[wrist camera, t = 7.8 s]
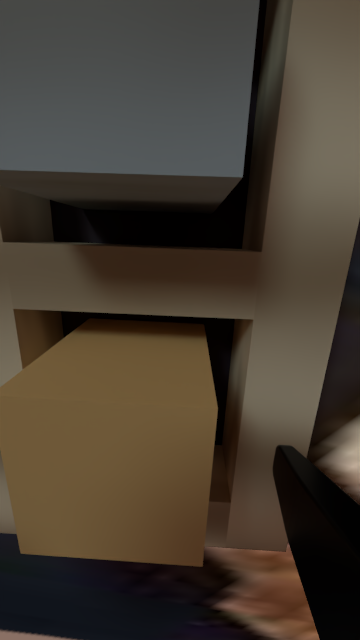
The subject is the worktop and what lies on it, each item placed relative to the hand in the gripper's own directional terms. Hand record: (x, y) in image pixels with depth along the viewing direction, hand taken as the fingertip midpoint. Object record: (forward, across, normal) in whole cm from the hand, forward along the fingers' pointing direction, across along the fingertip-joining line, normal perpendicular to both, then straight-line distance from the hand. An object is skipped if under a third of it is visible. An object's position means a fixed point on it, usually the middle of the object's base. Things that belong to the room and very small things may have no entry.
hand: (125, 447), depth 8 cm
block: (+5, 0, 0) cm, 5 cm away
